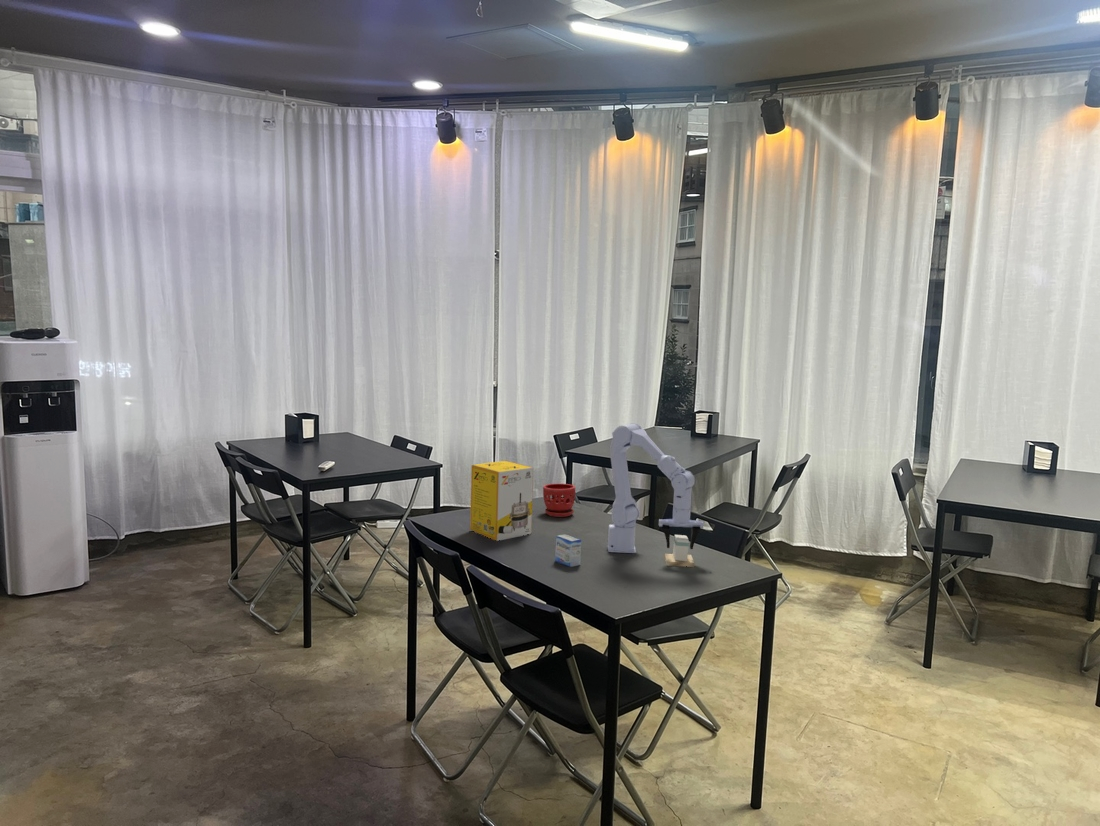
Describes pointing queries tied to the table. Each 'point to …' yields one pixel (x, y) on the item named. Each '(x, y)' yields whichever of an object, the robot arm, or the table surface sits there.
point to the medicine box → (568, 550)
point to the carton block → (680, 547)
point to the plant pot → (559, 499)
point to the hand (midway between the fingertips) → (679, 547)
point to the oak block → (672, 562)
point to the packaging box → (501, 499)
